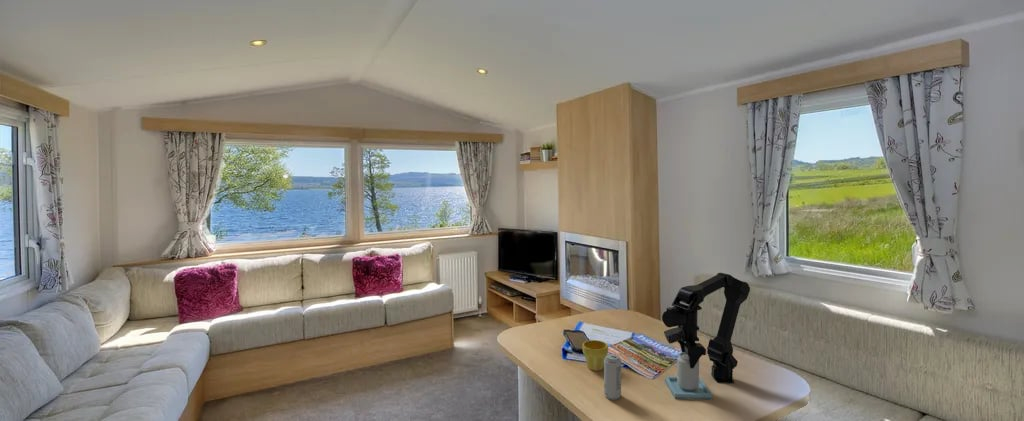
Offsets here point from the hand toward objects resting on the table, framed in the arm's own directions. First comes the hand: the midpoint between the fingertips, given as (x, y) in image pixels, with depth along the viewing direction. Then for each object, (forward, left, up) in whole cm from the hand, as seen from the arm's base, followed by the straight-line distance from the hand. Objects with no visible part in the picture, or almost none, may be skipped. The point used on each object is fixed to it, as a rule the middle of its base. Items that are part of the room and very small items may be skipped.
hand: (688, 363), depth 157 cm
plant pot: (+32, -17, -10) cm, 38 cm away
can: (0, 0, -9) cm, 9 cm away
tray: (0, 0, -10) cm, 10 cm away
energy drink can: (+28, +6, -10) cm, 31 cm away
